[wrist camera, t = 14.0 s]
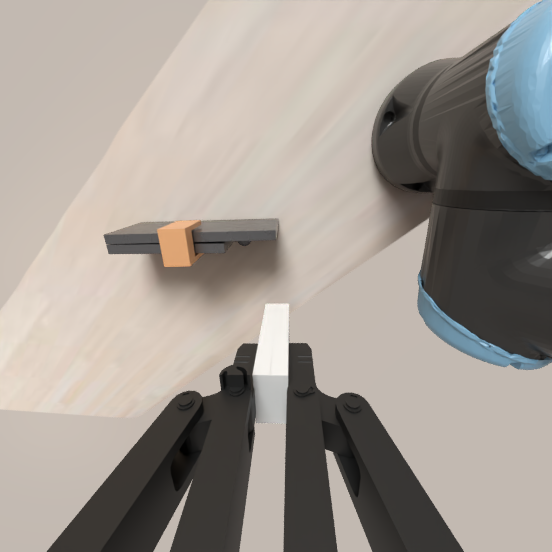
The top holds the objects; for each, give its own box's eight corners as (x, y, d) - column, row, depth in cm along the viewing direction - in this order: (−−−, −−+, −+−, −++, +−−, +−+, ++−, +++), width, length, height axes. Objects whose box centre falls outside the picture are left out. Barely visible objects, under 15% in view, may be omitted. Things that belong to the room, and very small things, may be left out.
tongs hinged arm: (236, 229, 41) (223, 243, 33) (237, 237, 41) (224, 252, 33) (141, 231, 42) (106, 244, 33) (143, 238, 42) (108, 254, 34)
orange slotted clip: (200, 220, 35) (184, 228, 30) (205, 252, 37) (190, 266, 31) (177, 220, 36) (157, 229, 30) (182, 253, 37) (164, 266, 32)
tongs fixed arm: (278, 218, 40) (275, 230, 32) (278, 238, 41) (276, 255, 33) (141, 222, 41) (103, 234, 33) (145, 242, 42) (110, 258, 34)
